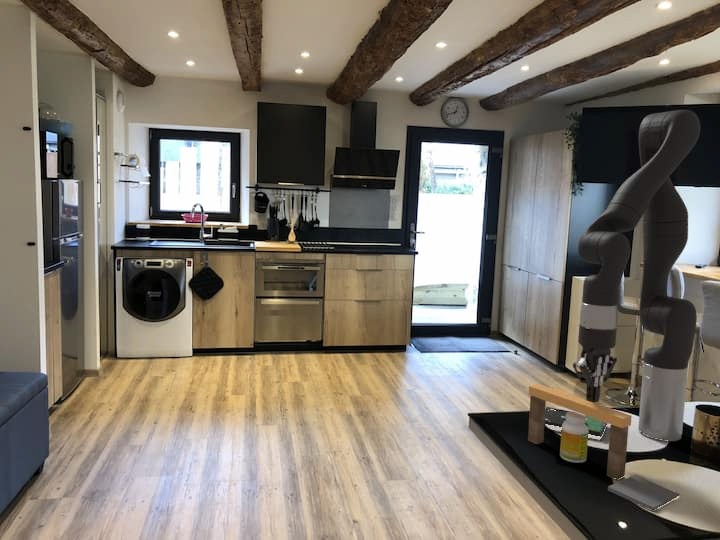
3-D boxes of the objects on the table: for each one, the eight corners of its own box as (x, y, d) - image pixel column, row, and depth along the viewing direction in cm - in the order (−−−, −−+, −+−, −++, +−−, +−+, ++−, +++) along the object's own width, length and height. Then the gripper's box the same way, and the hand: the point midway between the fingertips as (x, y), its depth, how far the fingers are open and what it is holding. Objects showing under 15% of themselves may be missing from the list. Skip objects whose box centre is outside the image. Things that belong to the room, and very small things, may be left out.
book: (634, 478, 116) (634, 474, 116) (679, 497, 109) (679, 493, 109) (607, 490, 111) (608, 486, 111) (653, 511, 104) (653, 507, 104)
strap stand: (534, 438, 135) (537, 394, 134) (624, 477, 117) (628, 426, 115) (528, 440, 134) (530, 395, 132) (617, 480, 115) (621, 429, 114)
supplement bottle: (583, 465, 122) (586, 421, 120) (557, 459, 124) (559, 416, 123) (588, 456, 126) (591, 413, 125) (563, 450, 129) (565, 408, 128)
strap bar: (537, 392, 134) (537, 383, 134) (630, 425, 115) (631, 415, 115) (528, 394, 132) (529, 386, 132) (622, 428, 114) (622, 418, 113)
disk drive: (536, 430, 142) (601, 443, 134) (536, 419, 141) (602, 431, 134) (545, 416, 151) (607, 427, 143) (546, 406, 150) (607, 417, 143)
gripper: (600, 317, 132) (595, 391, 134) (563, 323, 124) (558, 401, 126) (631, 324, 125) (625, 401, 128) (595, 330, 118) (589, 412, 120)
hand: (592, 401), depth 127 cm, fingers closed
